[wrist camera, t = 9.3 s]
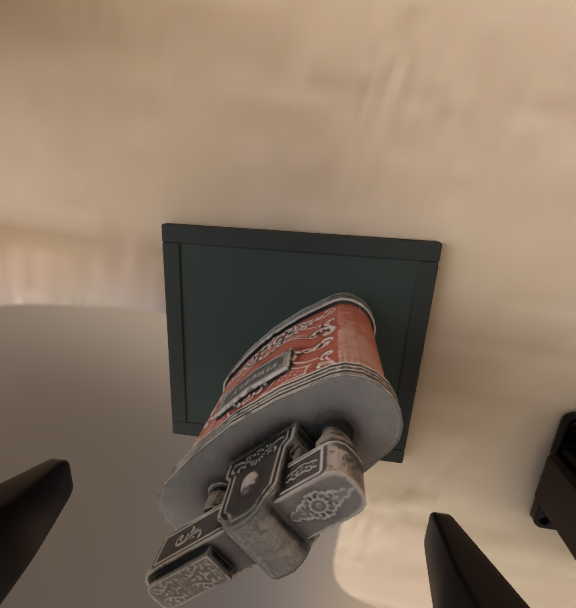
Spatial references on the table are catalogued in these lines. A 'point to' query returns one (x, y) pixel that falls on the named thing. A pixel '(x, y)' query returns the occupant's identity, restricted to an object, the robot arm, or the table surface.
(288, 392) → the lighter
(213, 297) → the desk mat
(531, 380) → the table surface
